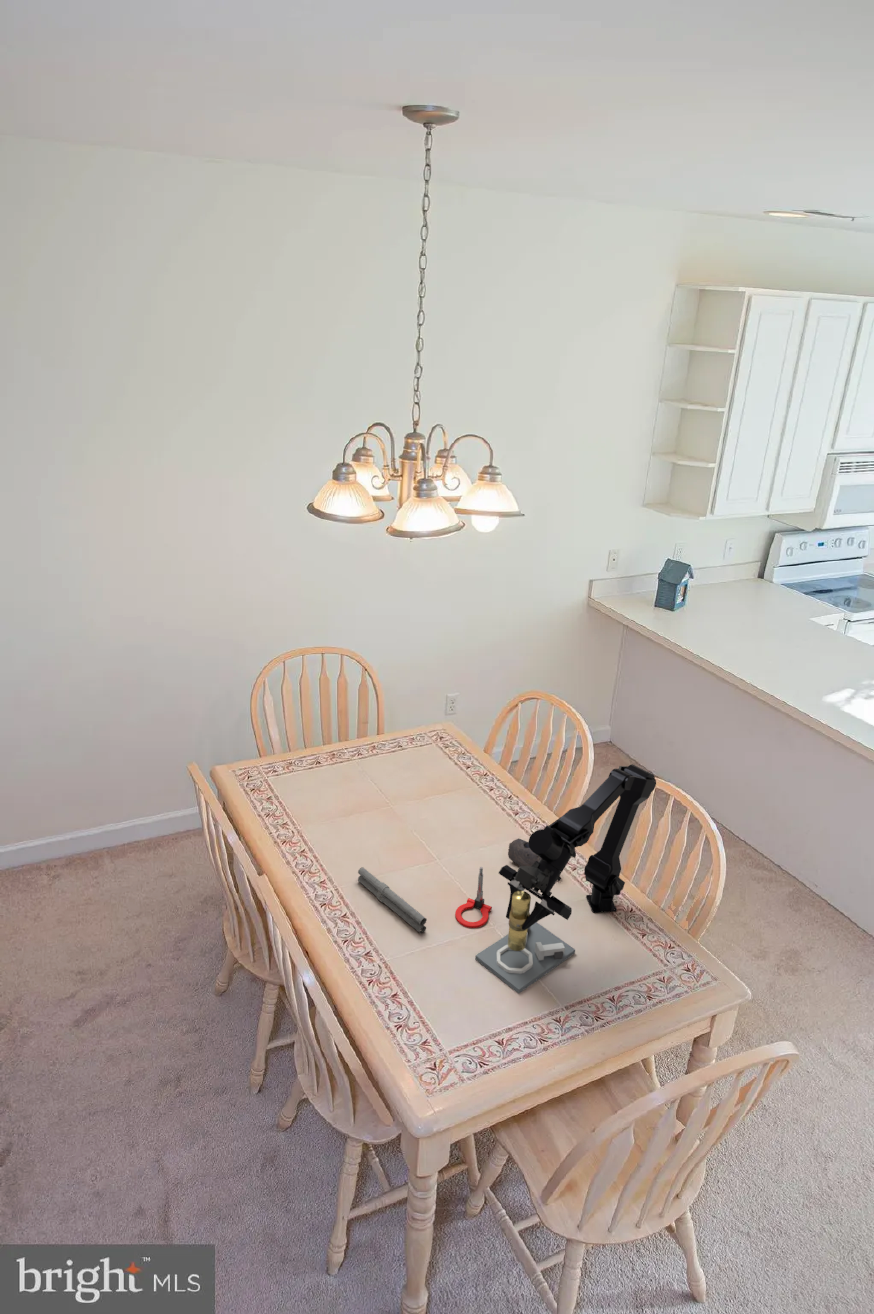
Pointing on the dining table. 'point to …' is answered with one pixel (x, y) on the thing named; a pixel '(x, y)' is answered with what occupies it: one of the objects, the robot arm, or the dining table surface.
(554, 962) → the base
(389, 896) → the metal rod assembly
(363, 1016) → the dining table surface
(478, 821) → the dining table surface
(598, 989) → the dining table surface
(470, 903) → the tow hook
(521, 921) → the coupler
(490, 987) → the dining table surface
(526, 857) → the perforated stone tool
